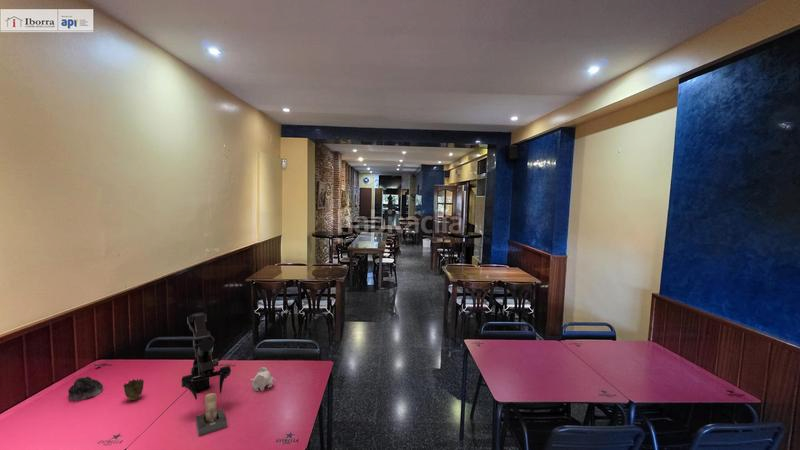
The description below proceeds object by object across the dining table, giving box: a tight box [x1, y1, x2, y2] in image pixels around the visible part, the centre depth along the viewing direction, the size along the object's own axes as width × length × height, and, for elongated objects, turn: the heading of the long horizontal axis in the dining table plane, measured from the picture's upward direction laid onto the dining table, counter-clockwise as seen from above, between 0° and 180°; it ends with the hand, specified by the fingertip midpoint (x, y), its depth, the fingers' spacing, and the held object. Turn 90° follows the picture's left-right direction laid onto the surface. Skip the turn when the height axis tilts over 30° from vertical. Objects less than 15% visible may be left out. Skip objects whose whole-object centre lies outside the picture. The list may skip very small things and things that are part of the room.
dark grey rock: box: [67, 376, 104, 402], centre depth 165 cm, size 13×14×10 cm
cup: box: [123, 378, 145, 402], centre depth 161 cm, size 8×7×8 cm
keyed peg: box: [204, 392, 218, 423], centre depth 144 cm, size 5×4×12 cm
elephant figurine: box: [250, 366, 276, 392], centre depth 173 cm, size 10×12×9 cm
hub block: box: [195, 407, 228, 437], centre depth 144 cm, size 10×10×3 cm
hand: (208, 395), depth 149 cm, fingers open, 9 cm apart
